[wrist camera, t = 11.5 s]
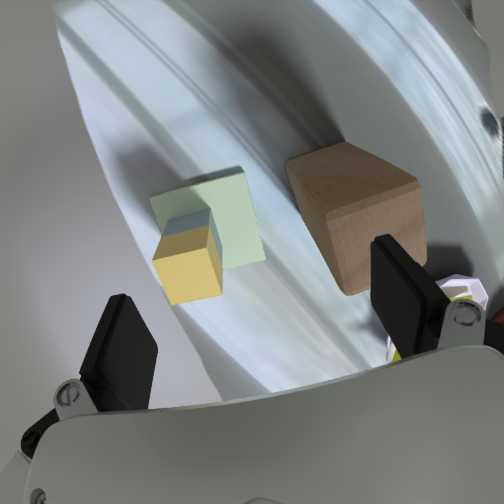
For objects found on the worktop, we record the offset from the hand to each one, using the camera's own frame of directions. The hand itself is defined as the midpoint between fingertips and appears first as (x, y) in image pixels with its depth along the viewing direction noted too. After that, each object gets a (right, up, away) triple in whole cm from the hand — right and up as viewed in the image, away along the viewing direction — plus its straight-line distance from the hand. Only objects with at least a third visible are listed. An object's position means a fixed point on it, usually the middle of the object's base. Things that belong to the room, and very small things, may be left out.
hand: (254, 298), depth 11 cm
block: (+10, +12, +33) cm, 36 cm away
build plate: (-6, +5, +35) cm, 36 cm away
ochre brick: (-8, +2, +29) cm, 30 cm away
